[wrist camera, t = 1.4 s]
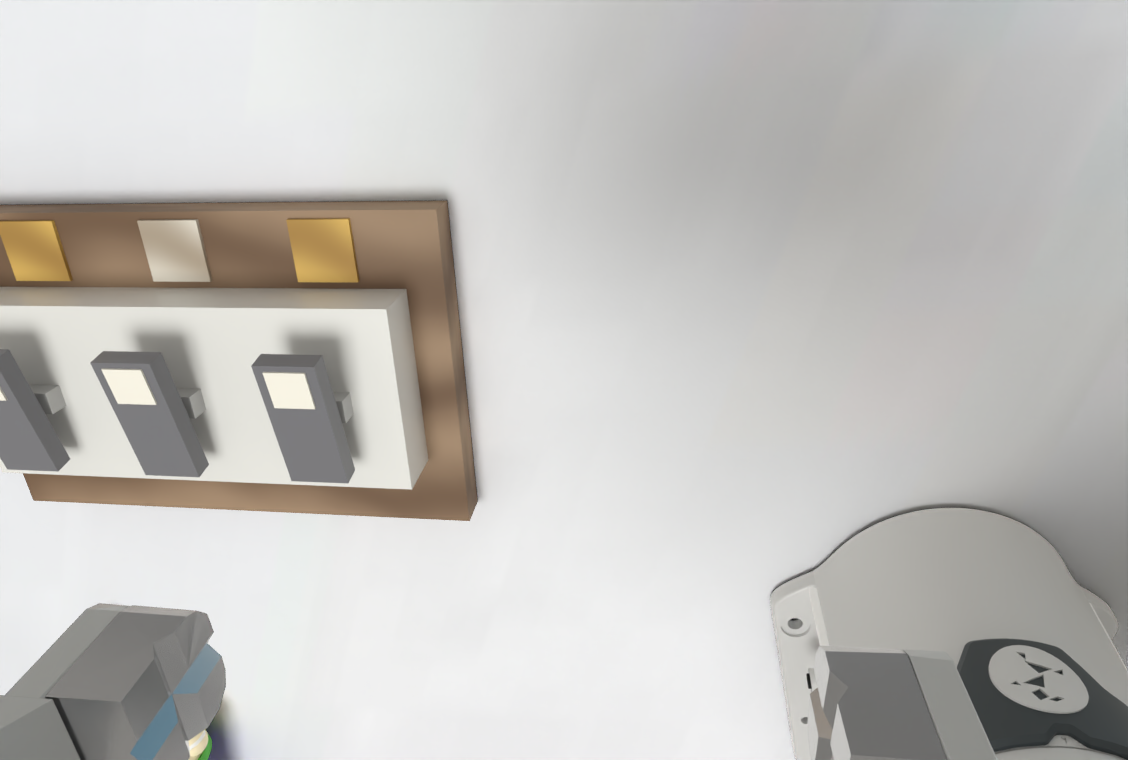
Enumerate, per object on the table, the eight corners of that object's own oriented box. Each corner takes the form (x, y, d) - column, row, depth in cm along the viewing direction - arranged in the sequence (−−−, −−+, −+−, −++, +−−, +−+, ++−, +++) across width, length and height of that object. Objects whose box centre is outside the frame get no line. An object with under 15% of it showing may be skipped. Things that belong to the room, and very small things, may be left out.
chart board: (477, 501, 46) (468, 523, 44) (56, 483, 50) (31, 502, 48) (447, 200, 39) (435, 210, 37) (-47, 205, 42) (-82, 214, 40)
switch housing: (428, 459, 43) (405, 500, 39) (41, 445, 46) (-12, 482, 43) (406, 289, 39) (378, 316, 35) (-18, 286, 42) (-83, 311, 38)
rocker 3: (355, 470, 39) (347, 484, 38) (299, 467, 40) (290, 482, 39) (322, 354, 35) (313, 368, 34) (260, 353, 36) (250, 367, 35)
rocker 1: (70, 459, 41) (57, 472, 40) (20, 457, 42) (6, 470, 41) (8, 349, 37) (-8, 362, 36) (-46, 348, 38) (-64, 360, 37)
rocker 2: (209, 464, 40) (198, 478, 39) (156, 462, 41) (144, 476, 40) (161, 351, 36) (148, 365, 35) (103, 351, 37) (88, 363, 36)
